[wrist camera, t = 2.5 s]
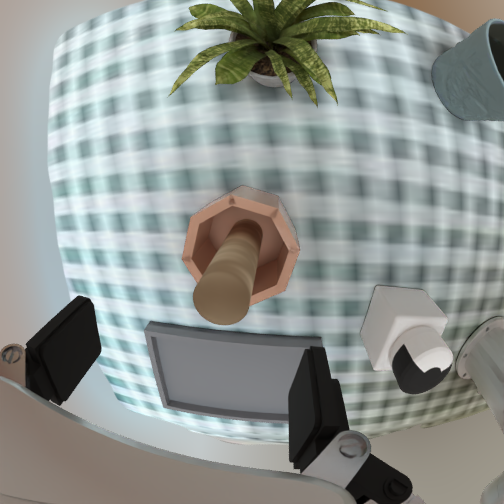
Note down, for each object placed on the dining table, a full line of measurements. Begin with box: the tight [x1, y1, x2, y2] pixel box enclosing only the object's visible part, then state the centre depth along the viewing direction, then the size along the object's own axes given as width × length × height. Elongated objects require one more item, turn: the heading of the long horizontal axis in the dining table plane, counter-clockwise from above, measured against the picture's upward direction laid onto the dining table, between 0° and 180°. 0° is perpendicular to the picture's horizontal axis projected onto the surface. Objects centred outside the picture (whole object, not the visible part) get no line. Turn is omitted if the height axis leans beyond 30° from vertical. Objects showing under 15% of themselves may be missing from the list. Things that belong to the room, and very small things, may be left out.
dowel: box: [193, 219, 263, 325], centre depth 21 cm, size 3×3×14 cm
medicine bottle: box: [360, 285, 453, 394], centre depth 25 cm, size 7×7×12 cm
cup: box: [182, 185, 300, 306], centre depth 25 cm, size 9×9×7 cm
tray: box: [144, 321, 323, 424], centre depth 35 cm, size 22×16×2 cm
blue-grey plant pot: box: [432, 19, 504, 121], centre depth 15 cm, size 10×10×12 cm
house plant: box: [169, 0, 408, 107], centre depth 15 cm, size 14×14×16 cm
